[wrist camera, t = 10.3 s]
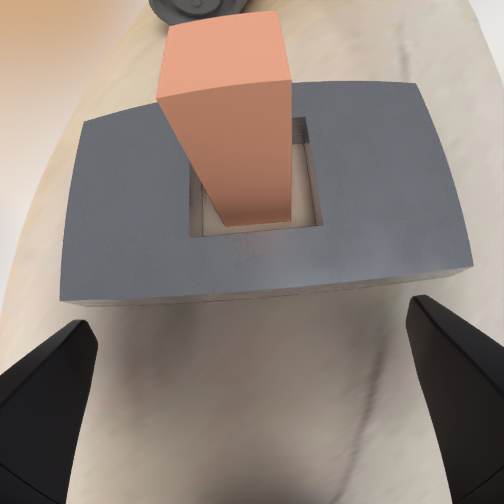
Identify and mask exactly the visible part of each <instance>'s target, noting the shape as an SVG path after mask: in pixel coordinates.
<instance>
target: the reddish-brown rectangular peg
mask: <svg viewBox="0 0 504 504" xmlns="http://www.w3.org/2000/svg"><path fill="white" fill-rule="evenodd" d="M156 99H157V101H158V103H159V105H160V107H161V109H162V111H163V113H164V114H165V116H166V118H167V120H168V122H169V124H170V125H171V127H172V129H173V131H174V133H175V135H176V137H177V138H178V140H179V142H180V144H181V146H182V148H183V150H184V151H185V153H186V155H187V157H188V159H189V161H190V162H191V164H192V166H193V168H194V170H195V172H196V173H197V175H198V177H199V179H200V181H201V183H202V184H203V186H204V188H205V190H206V192H207V193H208V195H209V197H210V199H211V201H212V203H213V204H214V206H215V208H216V210H217V212H218V214H219V215H220V217H221V219H222V221H223V223H224V224H225V226H226V227H229V226H240V225H251V224H263V223H274V222H286V221H291V181H292V92H291V76H290V70H289V65H288V61H287V56H286V51H285V46H284V41H283V37H282V32H281V28H280V23H279V19H278V15H277V10H275V11H262V12H252V13H243V14H235V15H227V16H220V17H214V18H208V19H202V20H197V21H192V22H187V23H182V24H177V25H173V26H169V30H168V35H167V40H166V45H165V50H164V55H163V60H162V66H161V71H160V77H159V83H158V89H157V95H156Z"/></svg>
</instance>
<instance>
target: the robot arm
mask: <svg viewBox="0 0 504 504" xmlns="http://www.w3.org/2000/svg"><path fill="white" fill-rule="evenodd" d="M406 329H407V333H408V337H409V341H410V345H411V350H412V354H413V358H414V363H415V367H416V371H417V375H418V379H419V382H420V385H421V388H422V391H423V394H424V397H425V400H426V403H427V407H428V410H429V413H430V416H431V420H432V423H433V426H434V430H435V433H436V437H437V441H438V444H439V448H440V452H441V455H442V459H443V463H444V467H445V472H446V476H447V480H448V484H449V489H450V494H451V498H452V503H453V504H504V347H503V346H502V345H500V344H499V343H497V342H496V341H494V340H493V339H492V338H490V337H489V336H487V335H486V334H484V333H483V332H481V331H480V330H479V329H477V328H476V327H474V326H473V325H471V324H470V323H468V322H467V321H465V320H464V319H462V318H461V317H459V316H458V315H456V314H455V313H453V312H452V311H450V310H449V309H447V308H446V307H444V306H443V305H441V304H440V303H438V302H437V301H435V300H433V299H432V298H430V297H429V296H427V295H419V296H413V297H412V298H411V300H410V304H409V308H408V313H407V317H406ZM97 350H98V342H97V339H96V337H95V335H94V333H93V331H92V329H91V328H90V326H89V324H88V322H87V321H86V320H73V321H71V322H70V323H69V324H67V325H66V326H64V327H63V328H62V329H60V330H59V331H58V332H56V333H55V334H54V335H52V336H51V337H50V338H48V339H47V340H46V341H44V342H43V343H42V344H40V345H39V346H38V347H36V348H35V349H34V350H32V351H31V352H30V353H28V354H27V355H26V356H24V357H23V358H22V359H21V360H19V361H18V362H17V363H15V364H14V365H13V366H12V367H10V368H9V369H8V370H6V371H5V372H4V373H3V374H1V375H0V504H66V499H67V492H68V487H69V481H70V475H71V470H72V465H73V460H74V455H75V450H76V446H77V441H78V437H79V432H80V428H81V424H82V420H83V416H84V412H85V408H86V404H87V400H88V396H89V392H90V388H91V382H92V376H93V371H94V365H95V360H96V355H97Z"/></svg>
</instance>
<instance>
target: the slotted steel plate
mask: <svg viewBox="0 0 504 504" xmlns="http://www.w3.org/2000/svg"><path fill="white" fill-rule="evenodd" d="M291 92H292V144H302V143H304V148H305V154H306V160H307V166H308V172H309V179H310V185H311V192H312V199H313V206H314V213H315V220H316V226H312V227H301V228H290V229H279V230H268V231H257V232H247V233H236V234H226V235H216V236H206V237H203V234H202V183H201V181H200V179H199V177H198V175H197V173H196V172H195V170H194V168H193V166H192V164H191V162H190V161H189V159H188V157H187V155H186V153H185V151H184V150H183V148H182V146H181V144H180V142H179V140H178V138H177V137H176V135H175V133H174V131H173V129H172V127H171V125H170V124H169V122H168V120H167V118H166V116H165V114H164V113H163V111H162V109H161V107H160V105H159V103H158V102H157V103H152V104H148V105H144V106H139V107H135V108H131V109H127V110H124V111H120V112H116V113H112V114H109V115H105V116H102V117H98V118H95V119H92V120H88V121H85V122H84V124H83V128H82V132H81V136H80V140H79V145H78V149H77V154H76V159H75V164H74V169H73V175H72V180H71V186H70V192H69V199H68V205H67V213H66V221H65V229H64V238H63V249H62V262H61V278H60V301H62V302H67V303H72V304H76V305H81V306H122V305H148V304H169V303H188V302H204V301H220V300H234V299H248V298H261V297H273V296H284V295H296V294H306V293H317V292H327V291H336V290H346V289H355V288H364V287H372V286H381V285H389V284H397V283H405V282H413V281H420V280H427V279H435V278H442V277H449V276H452V275H455V274H457V273H459V272H462V271H464V270H466V269H468V268H471V267H473V266H474V265H473V259H472V254H471V249H470V244H469V239H468V235H467V230H466V226H465V222H464V218H463V214H462V210H461V206H460V202H459V199H458V195H457V191H456V188H455V185H454V181H453V178H452V175H451V172H450V169H449V165H448V162H447V159H446V157H445V154H444V151H443V148H442V145H441V142H440V140H439V137H438V134H437V132H436V129H435V127H434V124H433V122H432V119H431V117H430V114H429V112H428V109H427V107H426V105H425V102H424V100H423V98H422V96H421V93H420V91H419V89H418V87H417V85H416V83H402V82H380V81H323V82H301V83H291Z"/></svg>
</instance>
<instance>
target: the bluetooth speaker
mask: <svg viewBox="0 0 504 504" xmlns="http://www.w3.org/2000/svg"><path fill="white" fill-rule="evenodd" d="M247 1H248V0H149V4H150V6H151V8H152V10H153V11H154V13H155V14H156V15H157V16H158V17H159V18H160V19H161V20H163V21H164V22H166V23H167V24H169V25H171V26H173V25H177V24H182V23H187V22H192V21H197V20H202V19H208V18H214V17H220V16H227V15H235V14H239V13H240V11H241V10H242V8H243V7H244V6H245V4H246V2H247Z"/></svg>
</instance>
